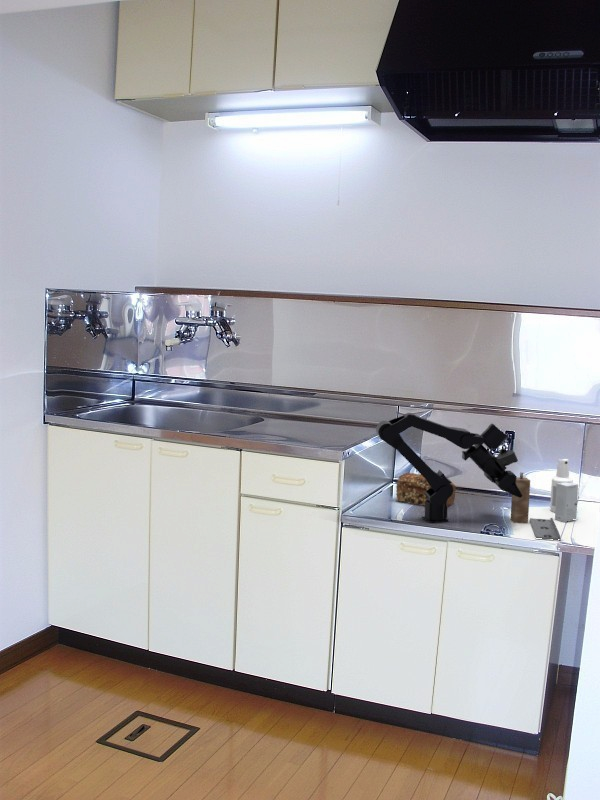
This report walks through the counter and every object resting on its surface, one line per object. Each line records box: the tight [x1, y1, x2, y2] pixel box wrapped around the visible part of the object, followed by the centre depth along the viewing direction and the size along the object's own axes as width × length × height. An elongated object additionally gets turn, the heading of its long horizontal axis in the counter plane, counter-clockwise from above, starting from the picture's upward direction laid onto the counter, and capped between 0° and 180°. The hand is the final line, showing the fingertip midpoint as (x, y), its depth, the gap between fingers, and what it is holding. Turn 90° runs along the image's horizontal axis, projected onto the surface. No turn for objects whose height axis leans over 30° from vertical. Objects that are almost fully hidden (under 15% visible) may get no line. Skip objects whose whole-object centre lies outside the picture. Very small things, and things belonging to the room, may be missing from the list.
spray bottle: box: [549, 458, 574, 513], centre depth 283 cm, size 7×7×18 cm
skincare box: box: [554, 482, 579, 523], centre depth 272 cm, size 6×4×12 cm
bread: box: [395, 472, 457, 507], centre depth 291 cm, size 19×11×10 cm, turn 58°
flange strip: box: [529, 517, 561, 541], centre depth 259 cm, size 22×7×1 cm, turn 169°
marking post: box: [510, 472, 531, 524], centre depth 269 cm, size 4×4×16 cm
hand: (517, 493), depth 268 cm, fingers open, 9 cm apart
